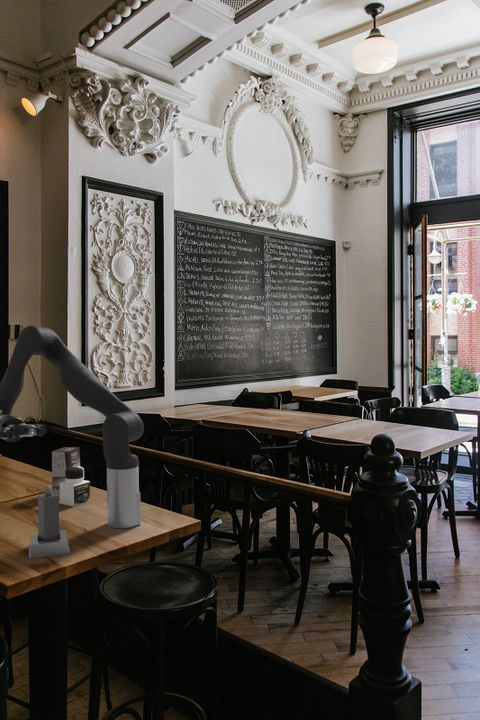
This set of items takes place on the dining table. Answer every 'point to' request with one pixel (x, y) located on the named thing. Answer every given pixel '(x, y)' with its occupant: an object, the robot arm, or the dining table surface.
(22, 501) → the dining table surface
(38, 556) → the socket
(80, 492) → the medicine bottle
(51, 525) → the plug
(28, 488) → the dining table surface
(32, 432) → the robot arm
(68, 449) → the coffee box
